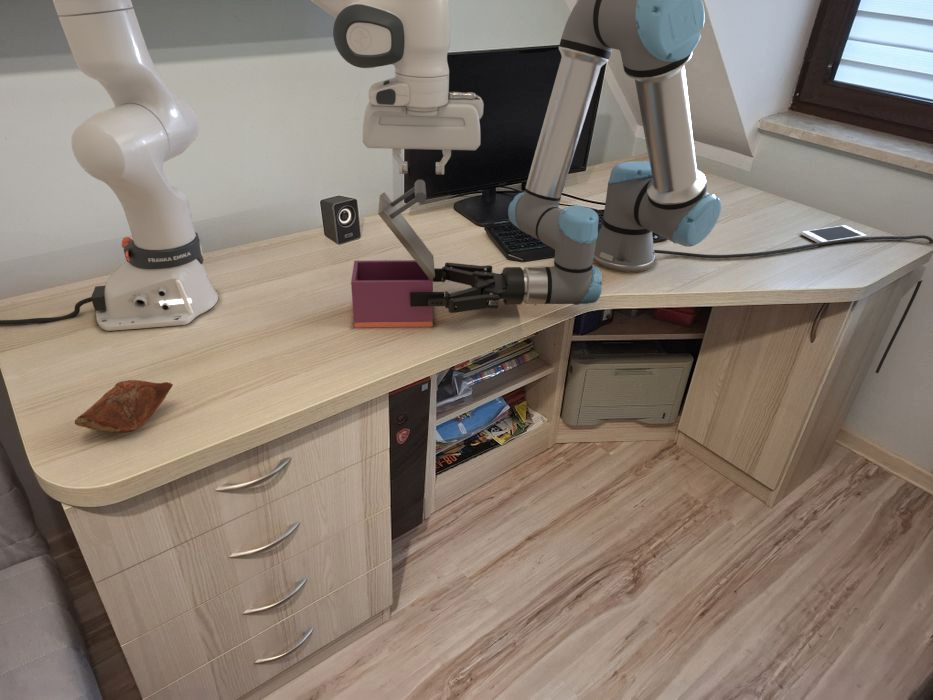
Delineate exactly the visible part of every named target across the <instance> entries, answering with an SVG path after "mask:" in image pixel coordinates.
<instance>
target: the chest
mask: <svg viewBox="0 0 933 700" xmlns="http://www.w3.org/2000/svg"><path fill="white" fill-rule="evenodd" d="M351 273H352V274H351V280H350V285H351V300H352V301H351V302H352V314H353V327H354V328H357V329H358V328H422V327H426V328H427V327H434V306H410V292H434V282H433V279H431V280H430V279H429V277H428V276H427V275H426V274H425V272H424V271H423V270H422V269H421V267H420V266H419V265H418V264H417V262H416V261H415V260H414V259H412V260H411V259H409V260H407V259H405V260H400V259H399V260H398V259H397V260H396V259H394V260H393V259H391V260H387V259H386V260H383V259H382V260H378V259H377V260H373V259H372V260H354V261H353V267H352V272H351Z"/></svg>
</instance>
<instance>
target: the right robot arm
mask: <svg viewBox="0 0 933 700" xmlns="http://www.w3.org/2000/svg"><path fill="white" fill-rule="evenodd" d="M705 17H706V16H705V4H704V1H703V0H577V2H576V3H575V5H574V6H573V7H572V9H571V12H570V14H569V16H568V18H567V20H566V22H565V25H564V29H563V32H562V34H561V37H560V42H559V45H558V50H559V52H560V56H561V58H560V62H559V65H558V69H557V72H556V76H555V80H554V84H553V87H552V91H551V94H550V97H549V101H548V104H547V110H546V112H545V116H544V119H543V123H542V127H541V130H540V135H539V138H538V140H537V145H536V148H535V151H534V156H533V159H532V163H531V166H530V168H529V169H530V170H529V173H528V177H527V181H526V184H525V189H524V191H523V192H519V193H517V194H516V195H515V196H514V197H513V199H512V201H510V202H509V205H508V209H507V216H508V220H509V222H510V223H511V224H512V225H513V226H515V227H516V228H517V229H518V230H520V231H521V232H523V233H525V234H526V235H529V236H530V237H533V238H534V239H536V240H538V241H539V242H541V243H543V244H544V245H546V246H548V247H550V248H551V249H553V250H554V259H553V266H525V267H524V268H522V267H521V266H505V267H504V268H503V269H502V272H501V273H497V272H493V266H492V265H475V264H468V263H467V264H466V263H456V262H445V263H444V266H442V267H440V268H437V267H434V269H435V278H433V283H445V282H446V281H447V282H453V283H457V284H461V285H466V286H470V287H469V288H464V289H461V290H457V291H453V292H448V291H447V290H445V291H433V292H410V306H433V307H444V308H445V309H448V313H450V314H456V313H464V312H470V311H471V312H472V311H478V310H485V309H499V308H500V300H502V303H503V305H505V306H513V305H514V306H520V305H521V304H525V305H534V306H537V305H574V306H579V305H588V304H594V303H596V302H597V301H598V300H599V299H600V298H601V295H602V290H603V285H602V284H603V276H602V272H601V269H599V267H598V266H600V267H601V268H604V269H606V270H610V271H614V272H619V273H640V272H645V271H647V270H649V269H651V268H652V267H653V266H654V263H655V259H656V254H663V255H673V256H682V257H692V258H702V259H732V258H748V257H758V256H768V255H775V254H780V253H787V252H793V251H799V250H803V249H804V250H805V249H808V248H809V249H810V248H815V247H818V246H819V247H820V246H826V245H832V244H839V243H840V244H841V243H847V242H848V243H849V242H856V241H857V242H859V241H877V240H914V239H925V240H927V241H929V243H931V244H933V238H932V237H931V236H929V235H925V234H916V235H905V236H902V235H901V236H900V235H888V236H887V235H885V236H884V235H882V236H866V237H858V238H847V239H840V240H833V241H827V242H819V243H817V242H815V243H809V244H804V245H798V246H793V247H786V248H780V249H774V250H767V251H758V252H747V253H733V254H706V253H705V254H704V253H703V254H702V253H694V252H683V251H675V250H674V251H673V250H666V249H665V250H664V249H654V237H653V233H654V234H655V235H657V236H659V237H661V238H663V239H666V240H668V241H670V242H672V243H673V244H675V245H676V244H678V245H680V246H682V247H688V248H689V247H690V248H691V247H694V246H696V245H698V244H700V243H702V242H703V241H704V240H705V239H706V238H707V237H708V236H709V235H710V233H712V231H713V229H714V228H715V226H716V225H717V223H718V221H719V219H720V215H721V212H722V201H721V199H720V198H719V197H718V196H717V195H715V194H714V193H709V192H708V186H707V178H706V176H705V173H704V172H703V171H701V170H700V169H699V168H697V161H696V160H697V159H696V152H695V144H694V143H695V142H694V134H693V126H692V125H693V124H692V118H691V108H690V100H689V91H688V84H687V75H686V64H687V63H688V62H689V61H690V60H691V58H692V56H693V51H694V50H695V49H696V47H697V46H698V44H699V42H700V40H701V38H702V35H701V30H704V26H705V20H706V18H705ZM613 50H617V51H619V52H620V57H621V63H622V67H623V71H624V74H625V75H626V76H627V77H629V78H631V79H633V80H634V81H635V82H634V83H635V90H636V94H637V100H638V106H639V111H640V117H641V122H642V128H643V134H644V139H645V144H646V145H645V146H646V150H647V156H648V161H645V160H639V161H638V160H637V161H635V160H633V161H624V162H620V163H618V164H615V165H614V166H613V167H612V168H611V171H610V176H609V178H608V179H609V180H608V181H607V189H606V197H605V201H604V203H605V204H604V211H603V216H602V217H603V218H602V223H601V227H600V229H599V219H600V217H599V215H598V214H599V213H597V211H595V209H593V208H591V207H586V206H583V205H569V206H566V207H564V208H560V207H559V205H560V203H561V199H562V195H563V192H564V189H565V185H566V182H567V178H568V175H569V172H570V169H571V165H572V163H573V159H574V156H575V152H576V150H577V146H578V143H579V139H580V137H581V133H582V130H583V126H584V123H585V121H586V117H587V115H588V114H587V113H588V111H589V107H590V105H591V101H592V98H593V94H594V91H595V87H596V85H597V82H598V78H599V75H600V72H601V68H602V67H603V66H604V65H605V64H607V63H609V61H610V58H611V55H612V52H613ZM593 263H595V265H596V264H597V265H598V266H594V265H593ZM922 282H923V279H921V280H918V281H917V284H916V285H915V288H914V290H913V293H912V295H911V297H910V299H909V301H908V303H907V305H906V307H905V310H904V312H903V314H902V316H901V317H900V320H899V321H898V324H897V326H896V328H895V330H894V332H893V334H892V336H891V338H890V340H889V342H888V344H887V346H886V348H885V351H884V353H883V354H882V357H881V358H880V361H879V363H878V365H877V368H876V370H875V374H879V373H880V371H881V368H882V366H883V364H884V362H885V361H886V358H887V356H888V354H889V352H890V350H891V348H892V345H893V344H894V341H895V339H896V337H897V335H898V334H899V332H900V329H901V328H902V326H903V323H904V321H905V319H906V317H907V315H908V313H909V312H910V310H911V307H912V305H913V303H914V300H915V299H916V296H917V295H918V292H919V290H920V287H921V285H922Z"/></svg>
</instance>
